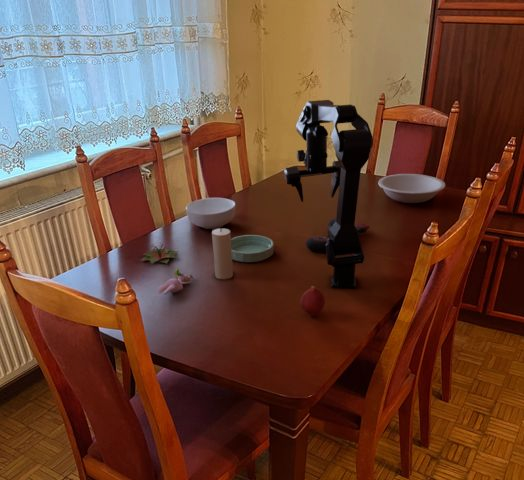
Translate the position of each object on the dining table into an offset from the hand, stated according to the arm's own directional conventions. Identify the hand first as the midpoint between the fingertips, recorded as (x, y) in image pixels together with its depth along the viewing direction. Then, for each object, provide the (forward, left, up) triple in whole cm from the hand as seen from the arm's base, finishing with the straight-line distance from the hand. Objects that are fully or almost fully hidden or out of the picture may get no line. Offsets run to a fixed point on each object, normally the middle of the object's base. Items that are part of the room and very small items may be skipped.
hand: (316, 199), depth 163 cm
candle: (-24, +25, -14) cm, 37 cm away
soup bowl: (+43, -34, -15) cm, 57 cm away
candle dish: (-8, +20, -14) cm, 26 cm away
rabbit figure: (-34, +37, -15) cm, 52 cm away
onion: (-45, 0, -15) cm, 47 cm away
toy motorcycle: (+2, -8, -15) cm, 17 cm away
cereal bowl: (+15, +36, -15) cm, 42 cm away
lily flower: (-13, +47, -15) cm, 51 cm away
